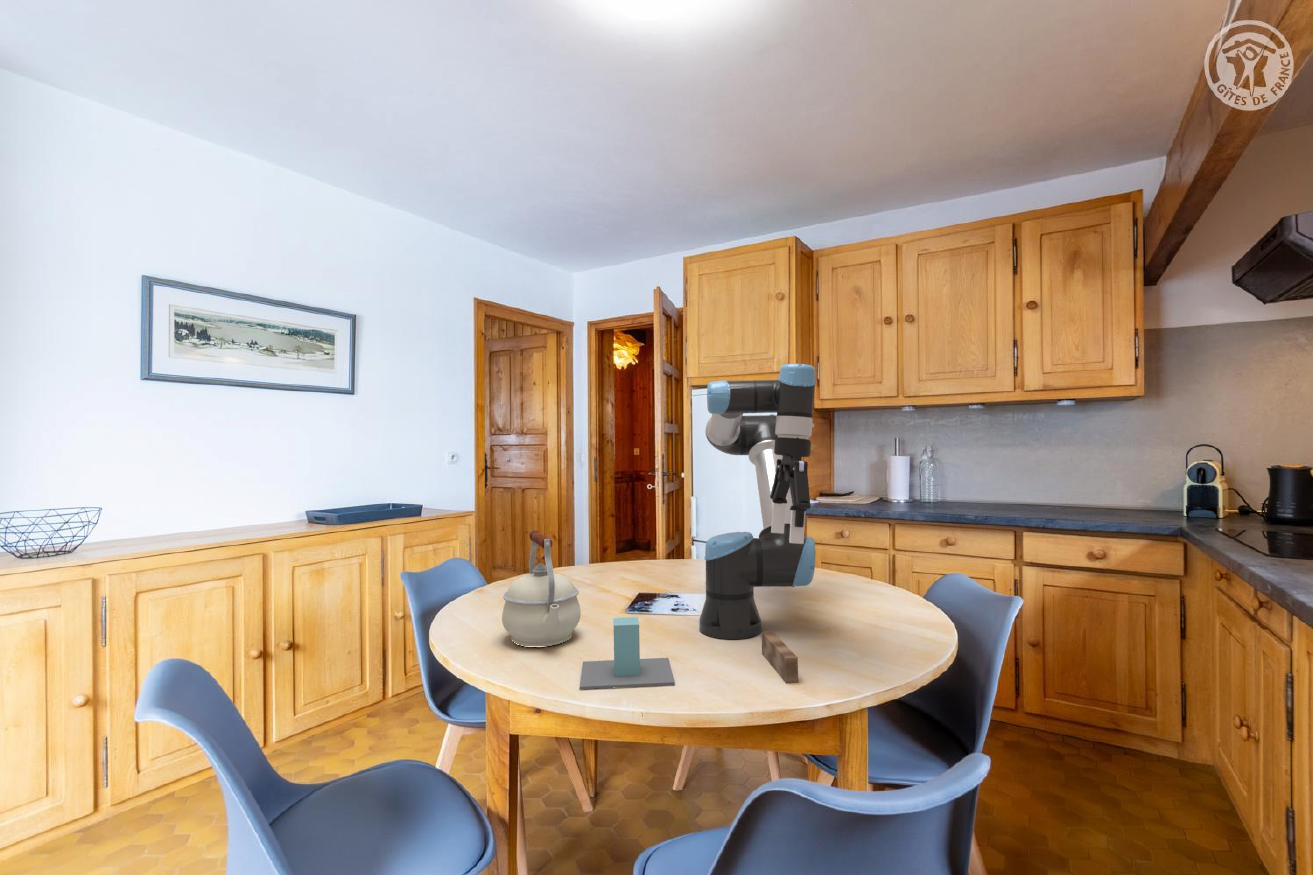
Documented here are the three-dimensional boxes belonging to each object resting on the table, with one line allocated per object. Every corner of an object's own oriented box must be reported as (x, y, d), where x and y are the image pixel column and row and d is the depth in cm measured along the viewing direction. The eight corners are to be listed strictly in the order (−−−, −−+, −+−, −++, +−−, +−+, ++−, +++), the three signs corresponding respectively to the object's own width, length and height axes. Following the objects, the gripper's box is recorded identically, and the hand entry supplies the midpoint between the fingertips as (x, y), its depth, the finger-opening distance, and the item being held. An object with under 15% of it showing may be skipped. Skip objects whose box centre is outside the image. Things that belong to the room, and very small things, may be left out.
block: (614, 667, 122) (613, 618, 122) (638, 665, 122) (637, 617, 122) (614, 676, 117) (613, 625, 117) (640, 675, 117) (639, 624, 117)
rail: (762, 654, 130) (761, 631, 130) (772, 654, 130) (772, 631, 130) (785, 684, 114) (785, 658, 114) (798, 683, 114) (797, 657, 114)
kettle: (496, 630, 149) (494, 530, 149) (567, 620, 156) (566, 525, 156) (513, 664, 126) (511, 546, 126) (597, 651, 133) (595, 539, 133)
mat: (582, 664, 125) (582, 661, 125) (668, 660, 127) (668, 657, 127) (579, 689, 112) (579, 686, 112) (674, 685, 114) (674, 682, 114)
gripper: (832, 438, 114) (824, 549, 114) (792, 439, 139) (786, 530, 139) (793, 435, 114) (786, 546, 114) (761, 436, 139) (754, 528, 138)
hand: (786, 537), depth 126 cm, fingers open, 13 cm apart
